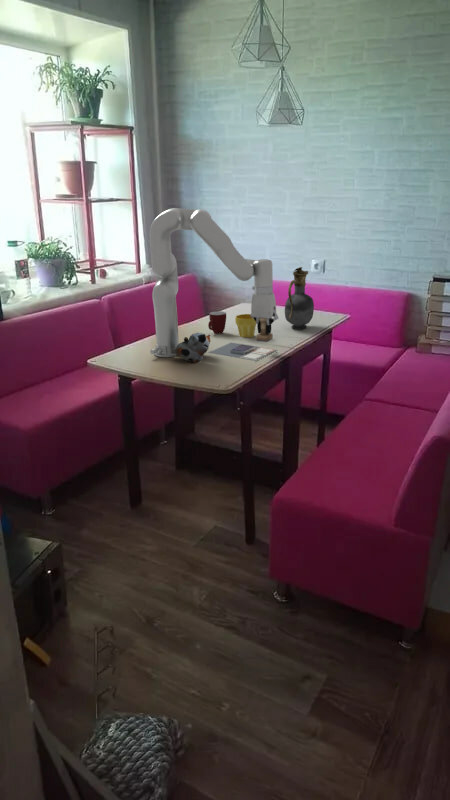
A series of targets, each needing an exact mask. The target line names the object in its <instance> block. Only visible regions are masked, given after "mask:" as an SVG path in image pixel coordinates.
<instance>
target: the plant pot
mask: <svg viewBox="0 0 450 800" xmlns="http://www.w3.org/2000/svg"><path fill="white" fill-rule="evenodd" d="M250 315H251V313H243V314H242V313H241V314H237V315H235V320H234V321H235V325H236V326H237V330H238V335H239V337H242V338H249V339H251V338H253V337H254V336H255V334H256V327H257V324H256V321H255V320H254V319H253V318H252V317H250Z"/></svg>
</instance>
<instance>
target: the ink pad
mask: <svg viewBox="0 0 450 800" xmlns="http://www.w3.org/2000/svg"><path fill="white" fill-rule="evenodd" d="M240 344H241V345H239V346H237V347H235V348H232V349H230V353H235V354H241V355H245V354H247V353H249V352H251V351H253V350H255V345H250V346H249V344H244V345H243V343H240Z"/></svg>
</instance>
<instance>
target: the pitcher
mask: <svg viewBox="0 0 450 800" xmlns="http://www.w3.org/2000/svg"><path fill="white" fill-rule="evenodd" d="M292 275H293V276H294V277H293V280H291V281H290V283H289V285H288V290H287V291H288V295H287V296H288V297H287V299H286V301H285V305H284V317H285V320H286V321H287V323H289V324H291V329H292V330H295V331H297V330H298V331H299V330H300V331H301V329H302V330H305V329H307V327H308V326H307V325H308V324H309V323H310V322H311V320H312V319H313V316H314V312H315V311H314V310H315V303H314V299H313V298H312V297H311V296H310V295H309V294H306V292H305V291H306V284H307V283H306V280H307V279H306V278H307V275H309V271H308V270H303V267H302V266H300V267H297V268H295V269H294V270H293V272H292ZM293 285H294V293H292V287H293Z"/></svg>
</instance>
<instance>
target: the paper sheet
mask: <svg viewBox="0 0 450 800" xmlns="http://www.w3.org/2000/svg"><path fill="white" fill-rule="evenodd" d="M259 347H260V348H258V349H256V350H254V351H251V352H249V353H247V354H245V355H243V356H241V357H240V358H239V359H242V358H245V359H244V360H248V359H251V360H250V361H254V360H256V361H258V360H260V359H262V358H264V357H266V356H268V355H270V354H272V353H274V352H275V350H276V351H277V349H276V348H275V349H274V348H270V347H263V346H259ZM273 351H274V352H273ZM271 352H272V353H271ZM269 353H270V354H269ZM267 354H268V355H267ZM265 355H266V356H265ZM263 356H264V357H263ZM261 357H262V358H261ZM259 358H260V359H259ZM257 359H258V360H257Z"/></svg>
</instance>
